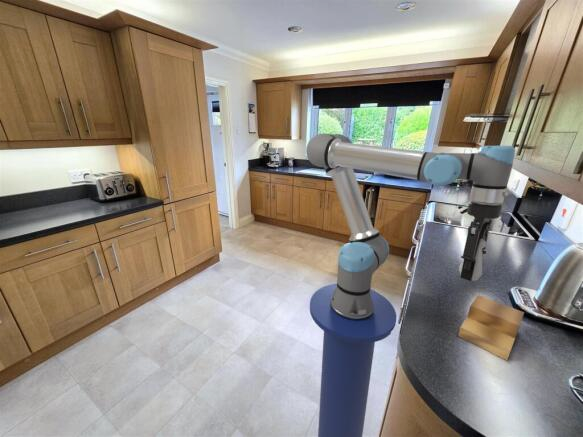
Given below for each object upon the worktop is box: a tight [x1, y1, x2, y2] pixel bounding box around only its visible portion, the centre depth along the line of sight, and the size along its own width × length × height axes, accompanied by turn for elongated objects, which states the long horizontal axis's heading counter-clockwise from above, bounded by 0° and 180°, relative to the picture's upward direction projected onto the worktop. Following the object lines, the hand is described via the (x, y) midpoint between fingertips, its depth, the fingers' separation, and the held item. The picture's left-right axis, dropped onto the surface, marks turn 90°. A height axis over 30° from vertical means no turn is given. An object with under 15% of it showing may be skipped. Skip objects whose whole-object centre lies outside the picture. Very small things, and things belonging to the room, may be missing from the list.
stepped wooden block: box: [457, 294, 525, 361], centre depth 76 cm, size 12×16×8 cm
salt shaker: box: [458, 239, 487, 282], centre depth 73 cm, size 6×6×13 cm
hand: (469, 275), depth 75 cm, fingers closed on salt shaker, 6 cm apart
